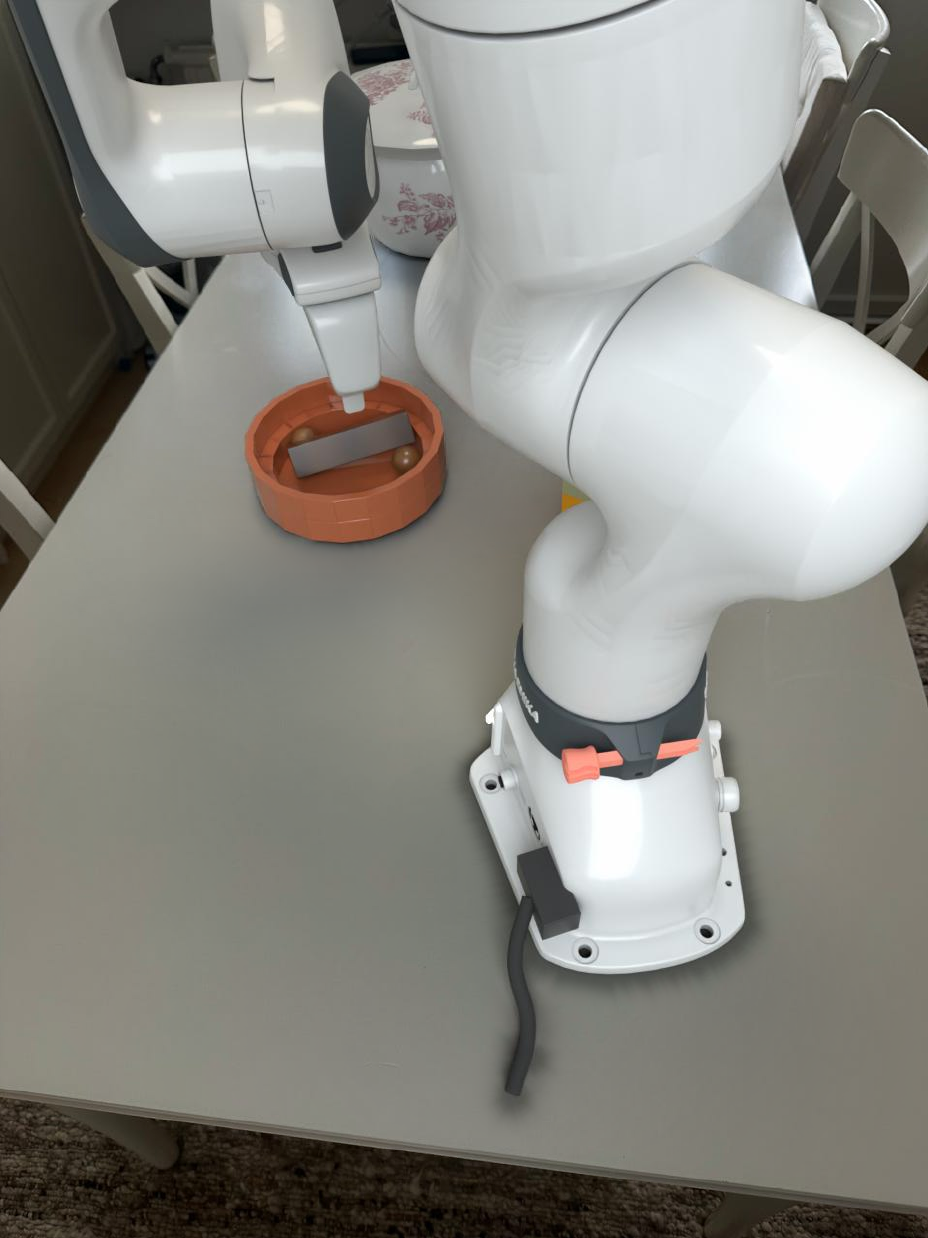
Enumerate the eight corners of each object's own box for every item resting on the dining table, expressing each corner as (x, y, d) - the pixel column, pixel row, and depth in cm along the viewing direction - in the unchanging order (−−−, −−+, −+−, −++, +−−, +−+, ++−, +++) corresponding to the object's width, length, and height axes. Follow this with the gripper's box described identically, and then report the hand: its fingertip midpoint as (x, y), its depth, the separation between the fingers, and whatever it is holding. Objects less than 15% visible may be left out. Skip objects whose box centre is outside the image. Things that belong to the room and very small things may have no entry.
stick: (297, 473, 86) (297, 479, 83) (287, 444, 85) (286, 448, 82) (412, 437, 87) (416, 441, 84) (403, 408, 86) (407, 411, 83)
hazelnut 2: (419, 484, 85) (430, 461, 83) (391, 481, 83) (402, 457, 81) (411, 464, 87) (421, 440, 85) (383, 461, 85) (393, 437, 83)
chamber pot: (313, 279, 111) (280, 102, 95) (366, 182, 128) (346, 18, 112) (530, 292, 107) (534, 109, 91) (555, 190, 124) (562, 21, 108)
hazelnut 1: (329, 432, 86) (305, 417, 87) (313, 444, 84) (288, 428, 84) (322, 455, 88) (298, 440, 89) (306, 468, 86) (281, 452, 86)
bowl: (458, 534, 81) (455, 485, 76) (258, 560, 79) (243, 513, 75) (434, 412, 92) (430, 364, 88) (259, 433, 91) (246, 386, 87)
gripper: (250, 175, 72) (285, 323, 83) (298, 298, 60) (331, 454, 70) (324, 161, 73) (348, 309, 84) (386, 279, 61) (405, 436, 71)
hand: (341, 376), depth 77 cm, fingers open, 8 cm apart
